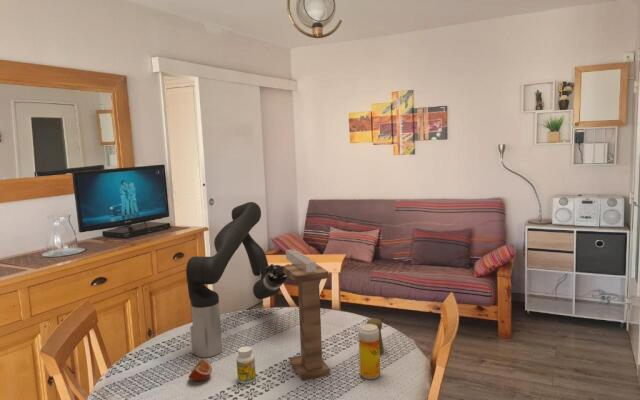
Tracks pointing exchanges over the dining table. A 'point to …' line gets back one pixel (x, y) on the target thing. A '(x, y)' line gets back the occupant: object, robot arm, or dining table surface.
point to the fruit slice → (201, 370)
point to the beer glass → (369, 351)
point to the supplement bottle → (245, 365)
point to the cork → (379, 325)
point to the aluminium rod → (301, 261)
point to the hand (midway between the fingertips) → (284, 265)
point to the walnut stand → (309, 323)
